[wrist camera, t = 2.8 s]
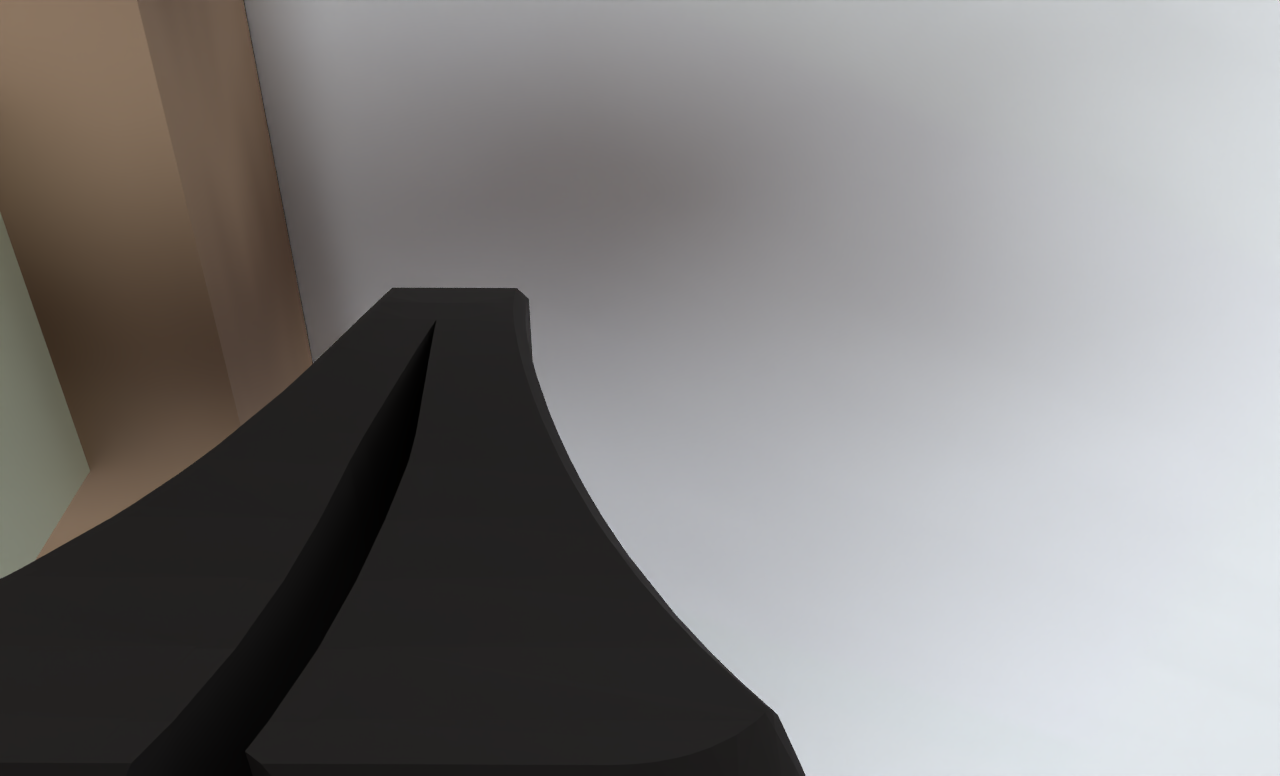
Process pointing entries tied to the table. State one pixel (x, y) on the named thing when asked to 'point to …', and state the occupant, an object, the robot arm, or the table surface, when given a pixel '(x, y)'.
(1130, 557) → the table surface
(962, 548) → the table surface
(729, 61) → the table surface
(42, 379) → the green block
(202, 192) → the brown wooden long tray
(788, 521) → the table surface
